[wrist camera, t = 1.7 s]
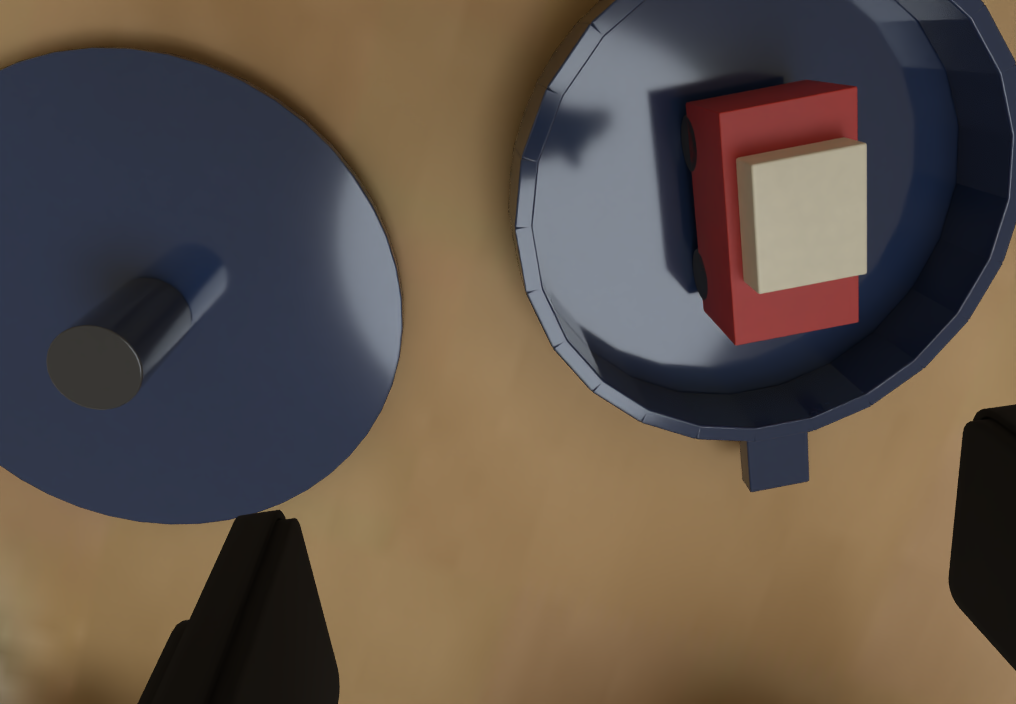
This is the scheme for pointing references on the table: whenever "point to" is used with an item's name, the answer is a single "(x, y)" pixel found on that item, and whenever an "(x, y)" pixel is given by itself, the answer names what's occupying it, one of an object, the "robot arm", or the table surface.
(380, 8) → the table surface
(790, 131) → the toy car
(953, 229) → the pot
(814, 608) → the table surface
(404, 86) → the table surface
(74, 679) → the table surface
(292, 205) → the lid
